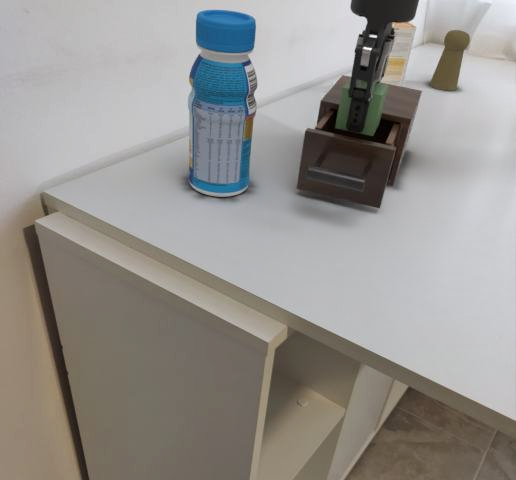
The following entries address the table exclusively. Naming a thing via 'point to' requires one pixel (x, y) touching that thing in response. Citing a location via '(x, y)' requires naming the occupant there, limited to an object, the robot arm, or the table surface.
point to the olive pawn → (450, 61)
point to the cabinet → (384, 115)
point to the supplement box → (399, 53)
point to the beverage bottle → (222, 103)
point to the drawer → (347, 161)
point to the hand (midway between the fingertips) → (358, 123)
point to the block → (373, 109)
